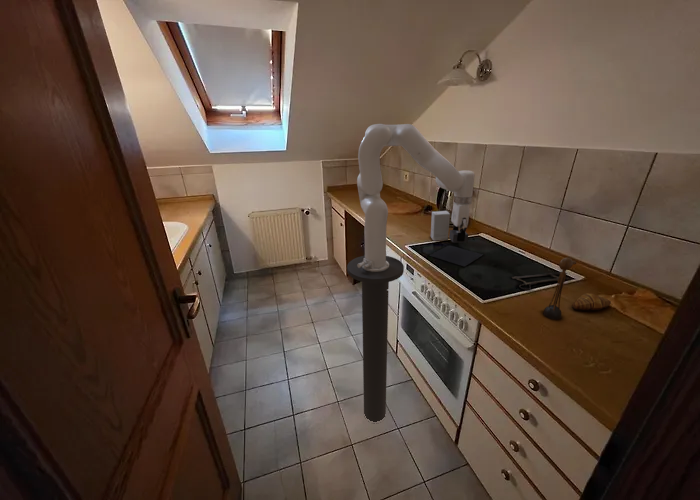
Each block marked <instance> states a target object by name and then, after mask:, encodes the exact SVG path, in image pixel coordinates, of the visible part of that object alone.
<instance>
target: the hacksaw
mask: <svg viewBox="0 0 700 500" xmlns="http://www.w3.org/2000/svg"><path fill="white" fill-rule="evenodd" d="M562 271H563V270H562ZM562 271H557V272H556V271H555V272H548V273H538V274H530V275H529V274H528V275H520V276H517V275H516V276H511V278H512V279H513V280H517V281H519V282H522V284H520V285H519V286H518V287H519V289H522V290H524V291H525V290H526V291H528V290H531V289H532V287H531V286H533V285H537V284H542V283H549V282H558V279H559V276H560V272H562ZM545 276H549V277H552V278H549V279H542V280H533V281H529V282H527V281H525V280H523V279H526V278H527V279H528V278H535V277H545ZM565 280H568V281H569V282H571V281H572V280H571V278H569V277H565ZM521 286H529V287H528V288H524V287H521Z"/></svg>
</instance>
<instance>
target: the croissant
mask: <svg viewBox="0 0 700 500" xmlns="http://www.w3.org/2000/svg"><path fill="white" fill-rule="evenodd" d="M611 304H612V301H611V300H610V299H608V298H605V297H603V296H599V295H598V294H595V293H590V292H589V293H587V292H586V293H584V294H582V295H581V296H580V297H579V298H577V299H576V300H574V302H573V303H572V305H571V308H572V309H573V310H576V311H583V312H588V311H600V310H602V309H606V308H608V307H610V305H611Z"/></svg>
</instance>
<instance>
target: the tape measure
mask: <svg viewBox="0 0 700 500" xmlns="http://www.w3.org/2000/svg"><path fill="white" fill-rule="evenodd" d="M458 233H459V230H453V229H449V233H448V239H450V241H451V242H452V243H453V244H454V243H455V244H457V243H458V244H459V243H462V244H463V243H468V241H469V234H468V233H467V232H466V233H465V241H457V235H458Z"/></svg>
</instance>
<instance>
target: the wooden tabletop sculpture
mask: <svg viewBox="0 0 700 500" xmlns="http://www.w3.org/2000/svg"><path fill="white" fill-rule="evenodd" d="M576 264H577V261H576V260H573V259H572V258H570V257H563V258H562V259H561V260H560V261H559V264H558V267H559V269H560V270H562V272H561V271H559V272H560V275H558V277H559V279H558V281H557V283H556V287H555V290H554V292H553V296H552V298H551V300H550V302H549V304H548V305H547V306H546V307H544V310H543V313H542V315H543V316H544V317H546V318H547V319H550V320H556V321H559V320H561V319H562V315H563V314H562V313H563V312H562V310H561V298H562V292H563V289H564V288H563V287H564V284H565V282H566V279H565V278H567V274H568V273H567V271H568V270H570V269H571V268H572V267H573V266H574V265H576ZM552 303H553V304H552ZM557 304H558V306H557Z"/></svg>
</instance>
